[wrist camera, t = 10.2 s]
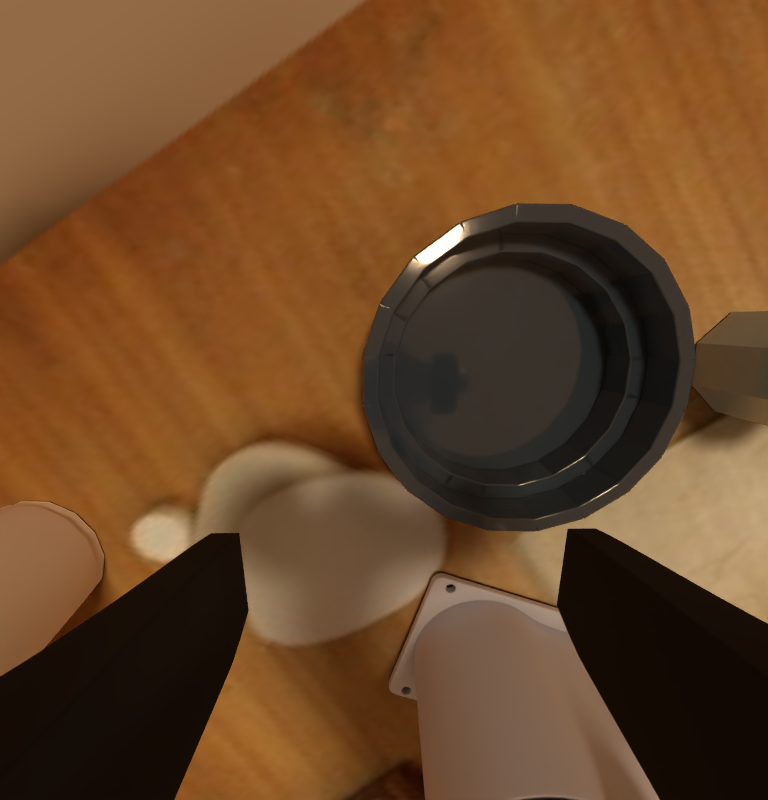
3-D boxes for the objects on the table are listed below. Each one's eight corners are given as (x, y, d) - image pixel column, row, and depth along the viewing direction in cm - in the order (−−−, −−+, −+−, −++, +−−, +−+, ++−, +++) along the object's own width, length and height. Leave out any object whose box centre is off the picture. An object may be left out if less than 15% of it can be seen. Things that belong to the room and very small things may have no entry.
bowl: (671, 285, 17) (759, 274, 13) (559, 517, 19) (604, 567, 15) (419, 191, 16) (429, 148, 12) (335, 445, 18) (322, 478, 14)
